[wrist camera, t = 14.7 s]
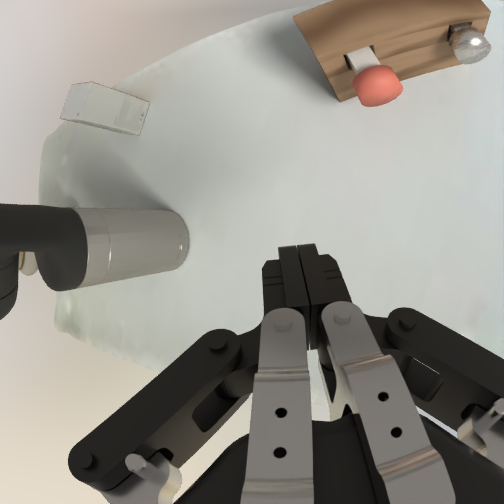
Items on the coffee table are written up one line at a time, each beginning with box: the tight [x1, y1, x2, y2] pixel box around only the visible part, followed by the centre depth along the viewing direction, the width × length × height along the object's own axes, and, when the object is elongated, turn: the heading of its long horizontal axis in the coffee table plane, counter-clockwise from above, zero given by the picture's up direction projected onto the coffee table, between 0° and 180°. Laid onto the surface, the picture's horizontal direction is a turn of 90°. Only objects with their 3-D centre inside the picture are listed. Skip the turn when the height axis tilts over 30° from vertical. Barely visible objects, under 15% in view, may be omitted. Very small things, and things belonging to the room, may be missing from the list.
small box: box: [60, 82, 150, 135], centre depth 41 cm, size 8×6×13 cm
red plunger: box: [345, 46, 403, 107], centre depth 22 cm, size 12×4×4 cm, turn 20°
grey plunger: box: [447, 22, 491, 64], centre depth 17 cm, size 12×4×4 cm, turn 20°
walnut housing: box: [292, 0, 491, 102], centre depth 22 cm, size 6×20×11 cm, turn 110°
